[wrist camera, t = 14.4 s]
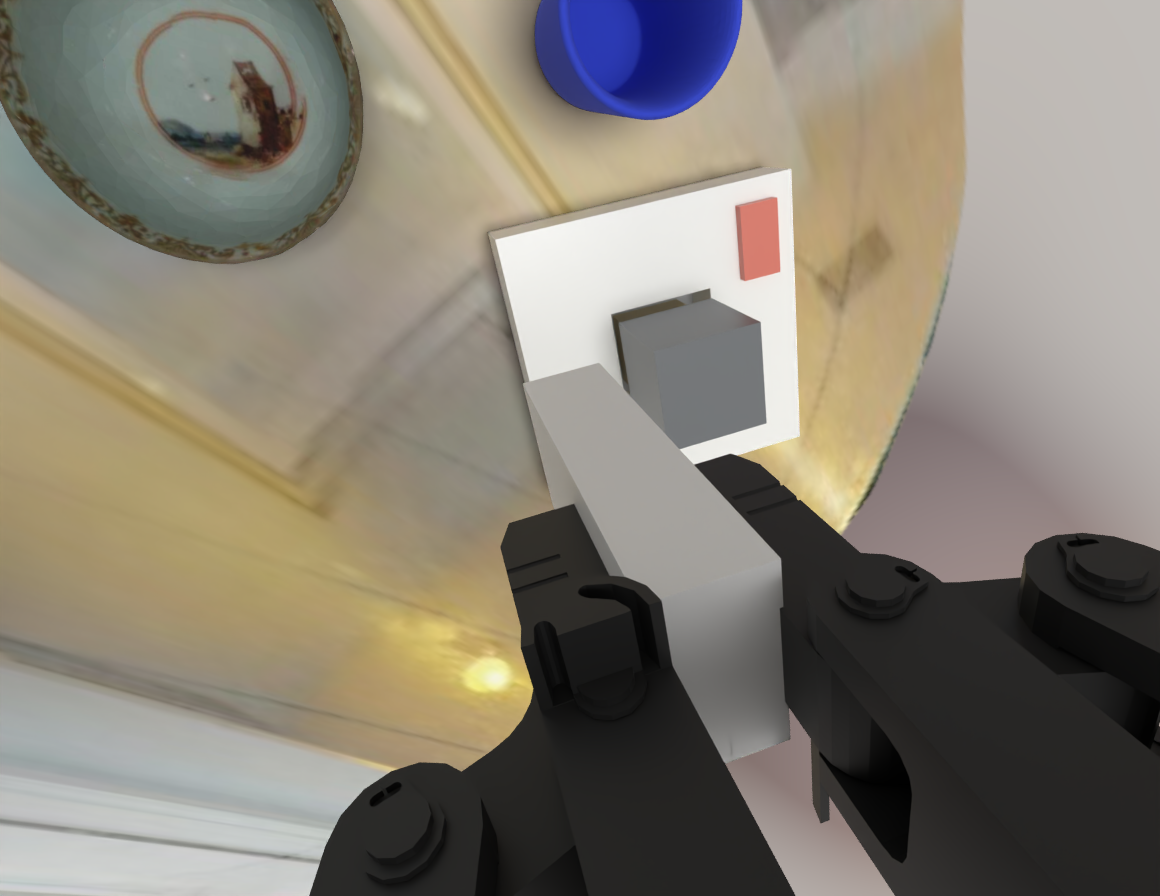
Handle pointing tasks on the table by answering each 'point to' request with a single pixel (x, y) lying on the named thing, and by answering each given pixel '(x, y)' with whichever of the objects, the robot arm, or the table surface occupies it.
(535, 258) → the socket plate
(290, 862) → the table surface
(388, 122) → the table surface
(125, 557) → the table surface
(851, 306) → the table surface
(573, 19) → the mug
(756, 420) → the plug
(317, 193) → the bowl
